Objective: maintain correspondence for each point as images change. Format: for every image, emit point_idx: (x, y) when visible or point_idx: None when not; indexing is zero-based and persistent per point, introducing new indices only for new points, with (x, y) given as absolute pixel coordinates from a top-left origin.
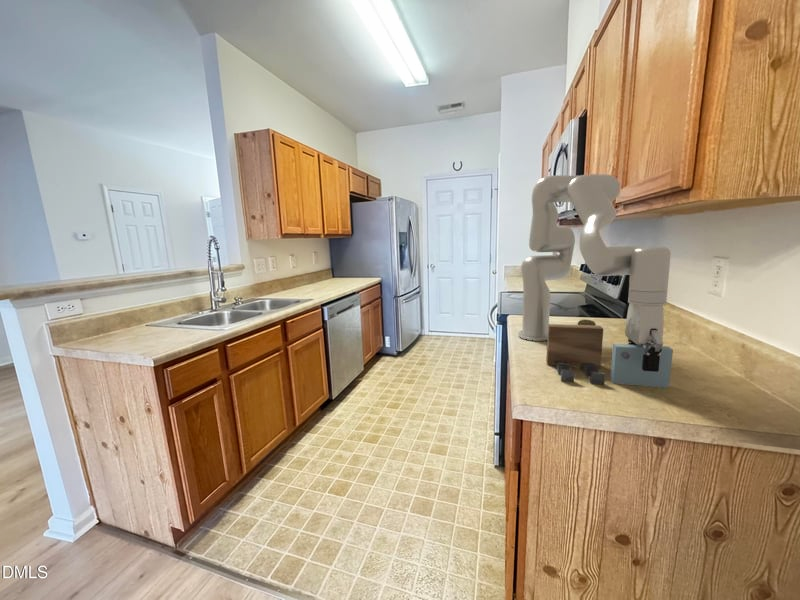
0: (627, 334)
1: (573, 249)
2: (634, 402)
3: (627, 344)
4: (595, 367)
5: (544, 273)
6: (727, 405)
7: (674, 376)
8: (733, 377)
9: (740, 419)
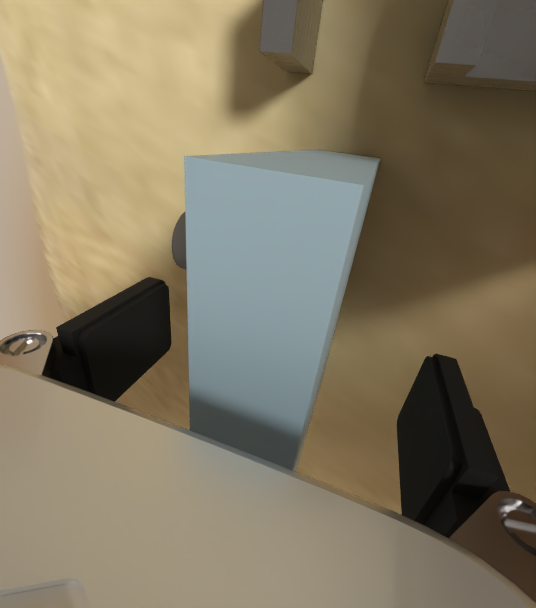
0: (348, 570)
1: None
2: (118, 152)
3: (307, 378)
4: (447, 18)
5: None
6: (180, 416)
7: (396, 465)
8: None
9: None
